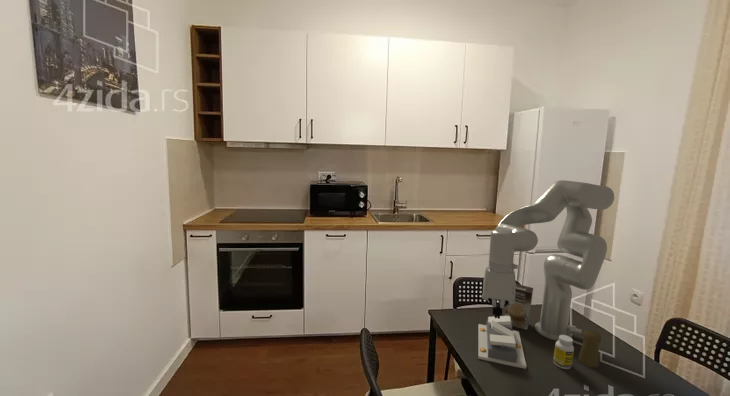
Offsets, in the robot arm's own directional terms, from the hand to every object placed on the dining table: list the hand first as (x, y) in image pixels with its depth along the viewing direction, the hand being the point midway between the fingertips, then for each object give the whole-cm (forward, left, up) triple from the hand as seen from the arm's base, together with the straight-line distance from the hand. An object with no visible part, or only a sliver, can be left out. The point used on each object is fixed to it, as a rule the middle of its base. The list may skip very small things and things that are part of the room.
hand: (496, 316), depth 115 cm
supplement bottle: (-22, -2, -15) cm, 26 cm away
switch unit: (-3, -6, -14) cm, 16 cm away
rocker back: (-3, -13, -9) cm, 16 cm away
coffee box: (-10, -25, -15) cm, 31 cm away
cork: (-31, -7, -15) cm, 35 cm away
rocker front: (-3, +1, -9) cm, 9 cm away
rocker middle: (-3, -6, -9) cm, 11 cm away
